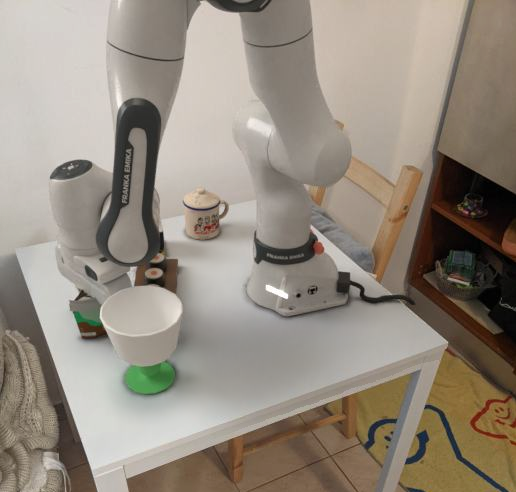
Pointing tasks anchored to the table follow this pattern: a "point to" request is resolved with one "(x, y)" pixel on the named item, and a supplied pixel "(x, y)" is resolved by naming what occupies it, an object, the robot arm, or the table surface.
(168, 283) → the sushi board
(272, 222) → the robot arm
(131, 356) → the cup
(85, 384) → the table surface
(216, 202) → the teacup with lid
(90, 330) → the food container
